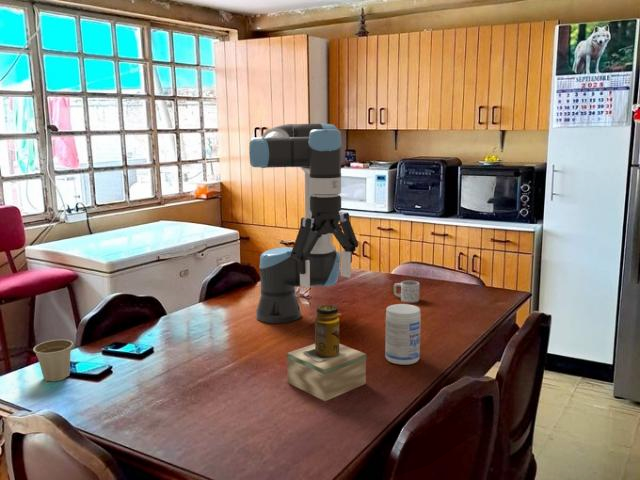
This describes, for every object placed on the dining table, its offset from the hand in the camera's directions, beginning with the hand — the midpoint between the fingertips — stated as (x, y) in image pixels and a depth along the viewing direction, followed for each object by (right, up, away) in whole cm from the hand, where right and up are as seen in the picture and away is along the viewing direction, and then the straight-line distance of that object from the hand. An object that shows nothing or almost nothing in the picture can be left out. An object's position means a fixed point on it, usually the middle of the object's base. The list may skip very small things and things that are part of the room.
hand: (325, 281), depth 145 cm
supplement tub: (+21, -23, +20) cm, 37 cm away
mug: (+31, -12, +76) cm, 83 cm away
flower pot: (-70, -26, +10) cm, 76 cm away
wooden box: (0, -26, +5) cm, 27 cm away
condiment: (0, -19, +3) cm, 19 cm away
